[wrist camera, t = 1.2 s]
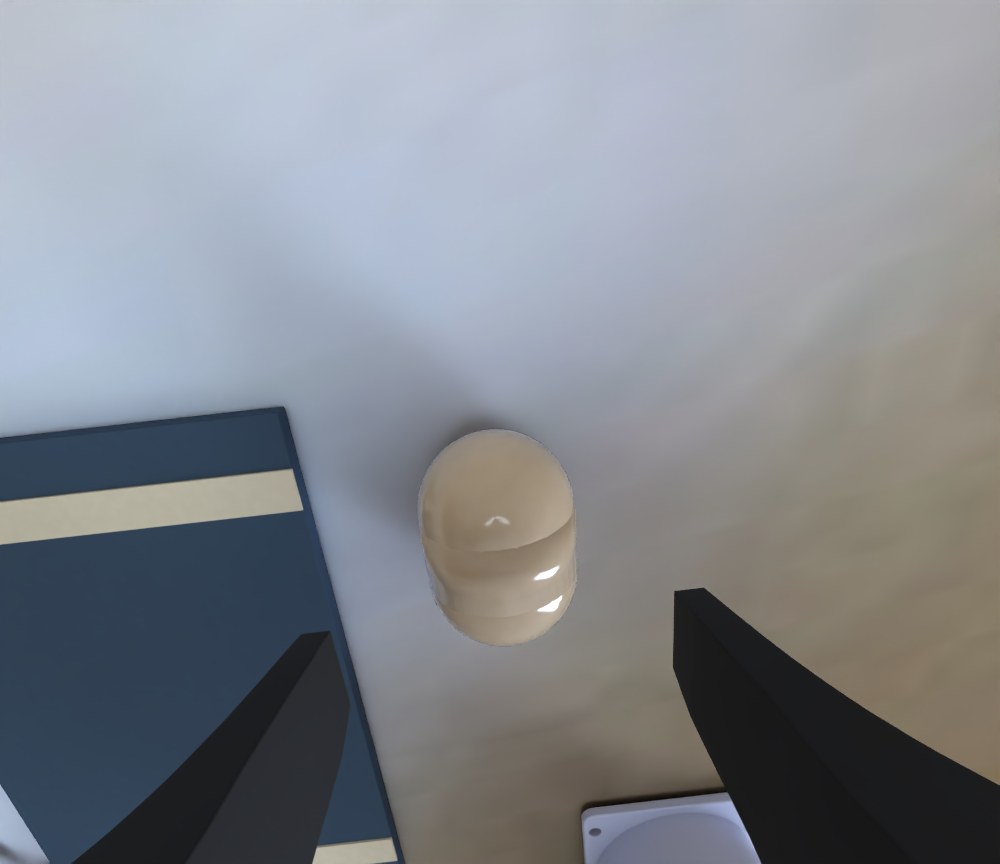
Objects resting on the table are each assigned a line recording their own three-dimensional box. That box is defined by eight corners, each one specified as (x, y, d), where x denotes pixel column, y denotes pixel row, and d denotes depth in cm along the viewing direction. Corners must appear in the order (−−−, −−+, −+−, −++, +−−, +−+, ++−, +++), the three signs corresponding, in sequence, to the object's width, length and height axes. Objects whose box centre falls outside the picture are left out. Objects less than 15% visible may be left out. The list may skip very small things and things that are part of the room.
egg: (568, 574, 18) (595, 672, 14) (443, 588, 18) (434, 691, 14) (556, 400, 16) (584, 457, 12) (414, 417, 16) (392, 479, 12)
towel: (406, 868, 23) (404, 887, 23) (96, 904, 23) (85, 924, 23) (284, 405, 16) (275, 413, 15) (-180, 458, 16) (-210, 467, 15)
